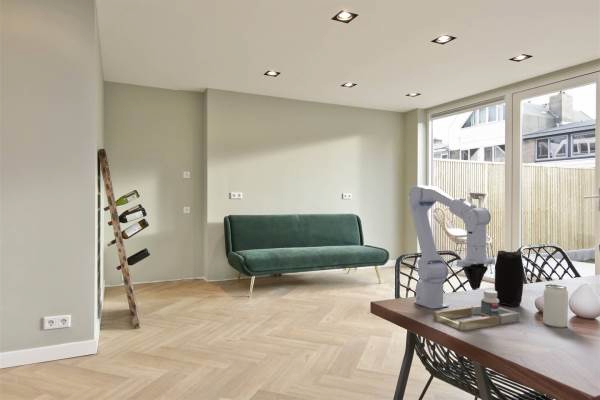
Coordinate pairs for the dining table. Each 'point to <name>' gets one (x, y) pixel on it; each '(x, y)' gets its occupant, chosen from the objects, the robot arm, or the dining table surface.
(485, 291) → the pill bottle
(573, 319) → the dining table surface
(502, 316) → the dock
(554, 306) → the can
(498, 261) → the portable speaker
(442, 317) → the beige flat u-shaped piece
